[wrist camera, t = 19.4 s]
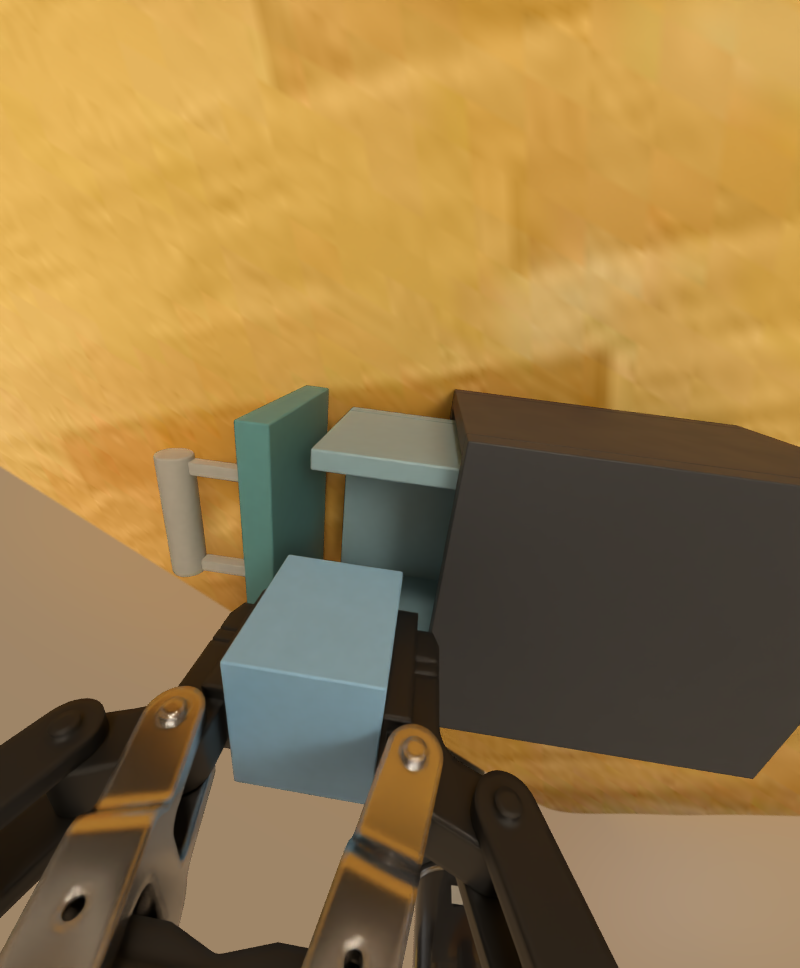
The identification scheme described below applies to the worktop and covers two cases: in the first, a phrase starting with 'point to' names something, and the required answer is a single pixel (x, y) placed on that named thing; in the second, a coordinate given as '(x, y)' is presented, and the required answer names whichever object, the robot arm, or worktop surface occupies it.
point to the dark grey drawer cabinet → (621, 584)
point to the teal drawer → (323, 493)
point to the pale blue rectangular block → (313, 679)
